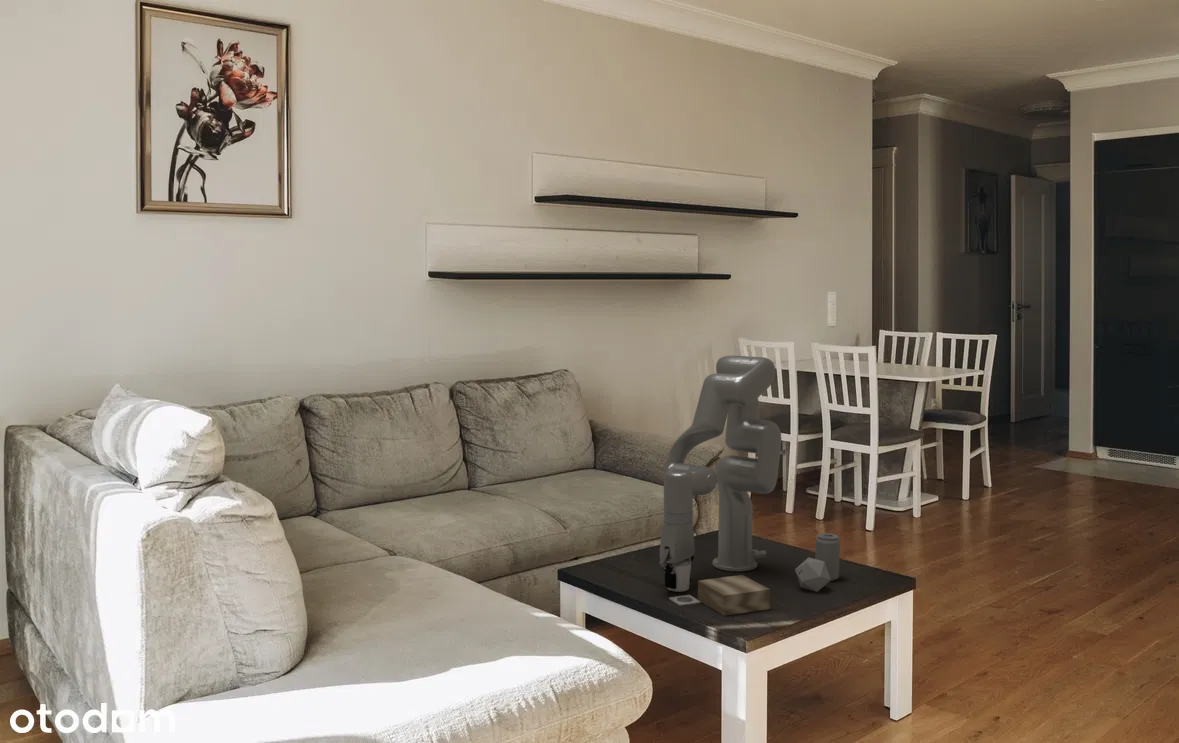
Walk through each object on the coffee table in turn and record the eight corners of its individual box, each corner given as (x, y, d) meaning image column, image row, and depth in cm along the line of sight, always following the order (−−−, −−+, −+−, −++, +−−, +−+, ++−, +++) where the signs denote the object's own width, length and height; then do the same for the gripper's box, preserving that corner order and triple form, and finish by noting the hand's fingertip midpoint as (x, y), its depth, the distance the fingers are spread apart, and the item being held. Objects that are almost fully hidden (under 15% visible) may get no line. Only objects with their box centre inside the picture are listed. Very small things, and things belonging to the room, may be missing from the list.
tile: (689, 595, 251) (689, 594, 251) (700, 602, 246) (700, 601, 246) (668, 598, 249) (668, 597, 249) (679, 605, 243) (679, 604, 243)
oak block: (741, 593, 253) (742, 574, 253) (769, 608, 241) (770, 589, 241) (697, 599, 248) (698, 580, 248) (724, 615, 236) (724, 595, 236)
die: (799, 584, 263) (786, 560, 259) (827, 569, 263) (815, 545, 258) (810, 604, 256) (797, 579, 252) (839, 588, 255) (826, 564, 251)
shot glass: (689, 593, 252) (690, 566, 251) (663, 591, 253) (663, 565, 252) (692, 584, 258) (692, 558, 258) (666, 583, 260) (666, 557, 259)
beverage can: (840, 576, 268) (841, 534, 267) (836, 583, 262) (837, 539, 261) (817, 573, 271) (818, 531, 270) (812, 580, 265) (813, 536, 264)
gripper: (684, 508, 263) (684, 573, 265) (647, 522, 249) (647, 590, 251) (708, 513, 258) (708, 579, 260) (671, 526, 245) (671, 596, 247)
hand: (678, 583), depth 256 cm, fingers closed on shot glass, 6 cm apart
